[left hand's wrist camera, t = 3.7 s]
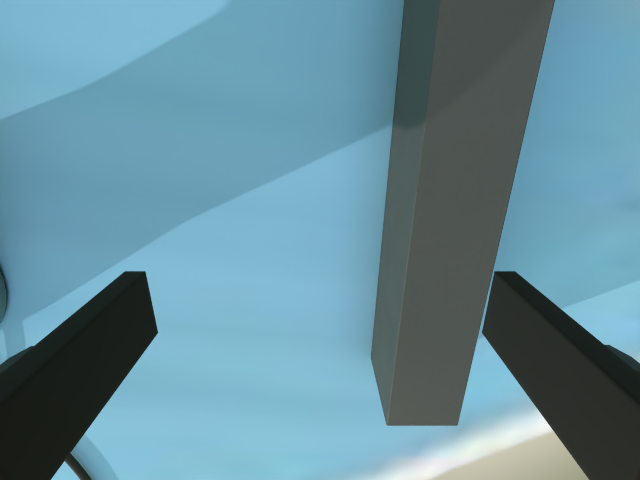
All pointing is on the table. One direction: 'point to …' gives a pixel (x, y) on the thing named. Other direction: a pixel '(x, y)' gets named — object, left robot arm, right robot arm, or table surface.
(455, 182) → the bar
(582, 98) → the table surface
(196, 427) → the table surface
